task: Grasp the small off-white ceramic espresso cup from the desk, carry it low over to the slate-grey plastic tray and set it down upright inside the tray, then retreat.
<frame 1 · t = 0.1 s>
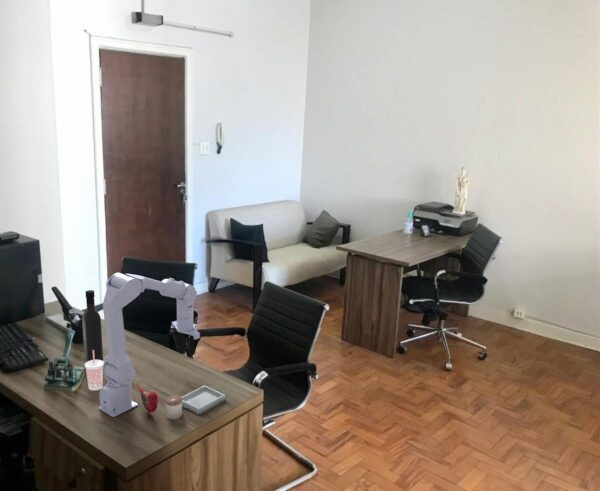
hand: (185, 351, 197), 10 cm above the table, tool pointing down, fingers open, 7 cm apart
decorative bird figurine: (147, 412, 175), on the table
espresso cup: (174, 414, 175), on the table
tray: (201, 402, 183), on the table
beverage cup: (95, 387, 189), on the table
wine bottle: (94, 368, 203), on the table
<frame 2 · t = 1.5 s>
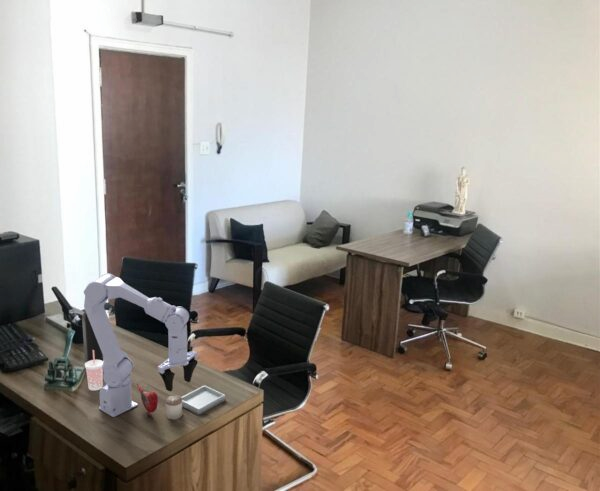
hand: (178, 385, 174), 9 cm above the table, tool pointing down, fingers open, 7 cm apart
nothing on the table moved.
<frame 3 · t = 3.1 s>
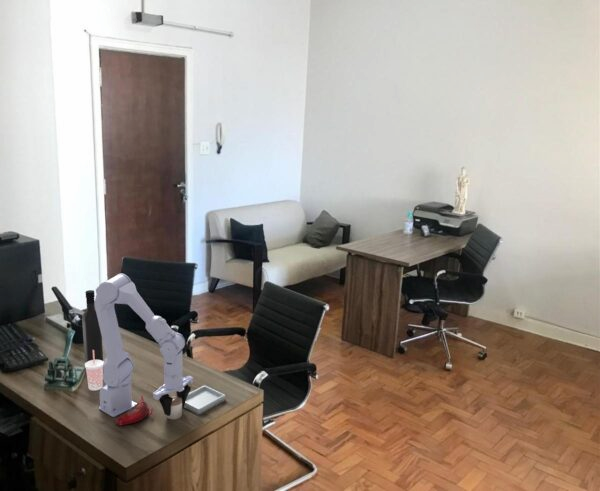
hand: (174, 410, 174), 1 cm above the table, tool pointing down, fingers closed on espresso cup, 5 cm apart
decorative bird figurine: (154, 409, 174), point 2 cm above the table, touching arm
espresso cup: (174, 414, 175), on the table, touching gripper
everything else where it was.
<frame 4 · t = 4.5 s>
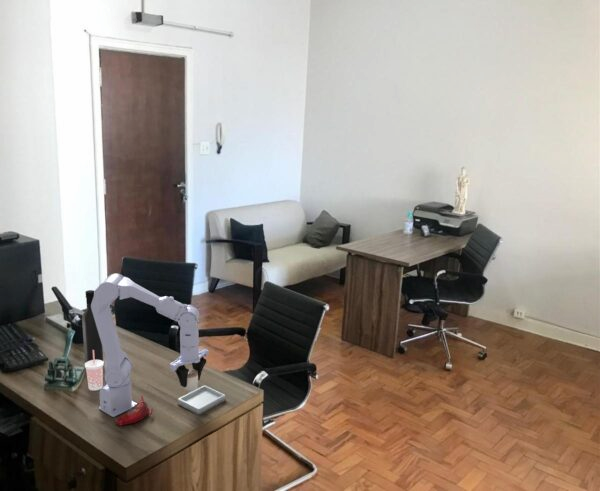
hand: (190, 382, 177), 9 cm above the table, tool pointing down, fingers closed on espresso cup, 5 cm apart
espresso cup: (190, 387, 177), point 7 cm above the table, touching gripper
everything else where it was.
when the fingers open (3 cm above the table, at t = 6.4 s): espresso cup stays where it is, resting on tray.
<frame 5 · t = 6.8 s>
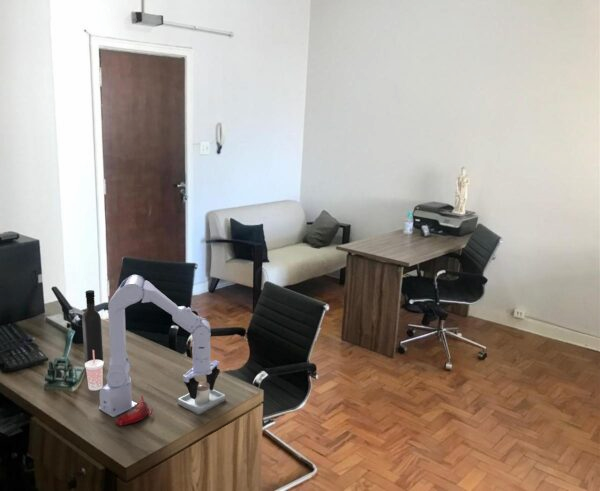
hand: (201, 393, 182), 3 cm above the table, tool pointing down, fingers open, 7 cm apart
espresso cup: (202, 400, 182), point 1 cm above the table, touching tray
everything else where it was.
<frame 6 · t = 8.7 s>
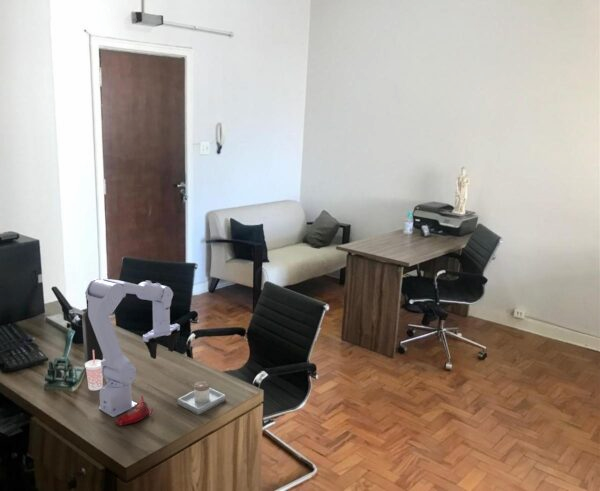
hand: (162, 354, 193), 10 cm above the table, tool pointing down, fingers open, 7 cm apart
nothing on the table moved.
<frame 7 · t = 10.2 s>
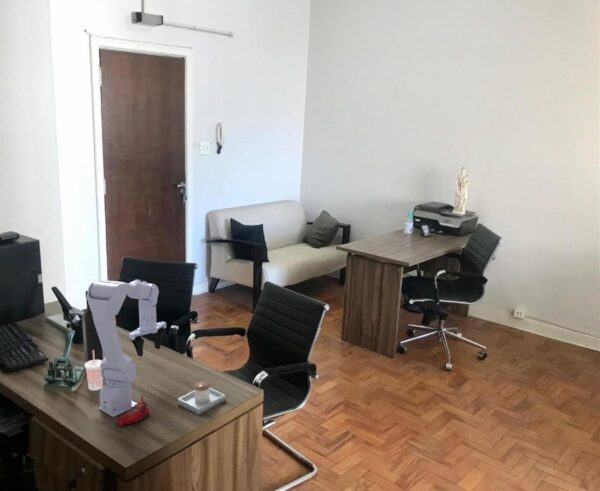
hand: (148, 352, 194), 10 cm above the table, tool pointing down, fingers open, 7 cm apart
nothing on the table moved.
at the end: espresso cup inside the target area on the tray (0.1 cm from its centre), point 0.8 cm above the tray's base; espresso cup tilted 1°; the gripper is holding nothing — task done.
